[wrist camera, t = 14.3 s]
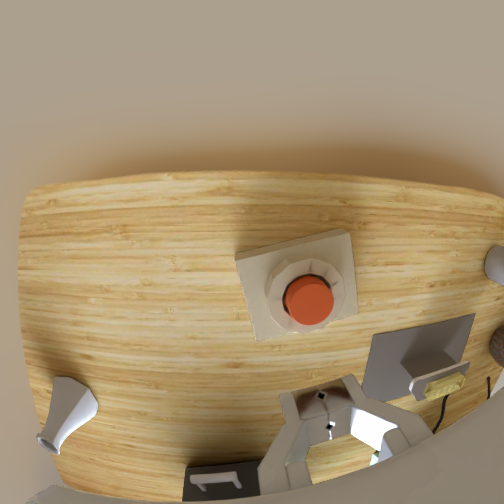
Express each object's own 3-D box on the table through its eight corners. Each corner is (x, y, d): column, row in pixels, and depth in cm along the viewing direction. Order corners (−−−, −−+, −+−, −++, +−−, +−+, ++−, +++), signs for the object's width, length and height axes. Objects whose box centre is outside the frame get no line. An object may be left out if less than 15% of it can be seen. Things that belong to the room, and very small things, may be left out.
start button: (289, 320, 23) (293, 331, 22) (281, 282, 22) (285, 290, 21) (329, 309, 23) (336, 318, 22) (324, 270, 22) (331, 278, 21)
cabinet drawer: (174, 454, 31) (168, 497, 23) (253, 445, 31) (258, 492, 23) (214, 500, 36) (214, 533, 28) (276, 493, 36) (281, 527, 28)
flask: (94, 383, 28) (64, 438, 19) (103, 419, 30) (81, 471, 20) (49, 368, 28) (14, 414, 18) (60, 404, 29) (34, 450, 20)
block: (254, 330, 27) (258, 352, 23) (234, 253, 25) (234, 267, 21) (350, 304, 27) (366, 322, 23) (340, 227, 25) (358, 236, 21)
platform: (452, 379, 33) (474, 402, 26) (355, 408, 32) (372, 443, 25) (475, 312, 30) (504, 332, 23) (373, 335, 29) (400, 368, 22)
